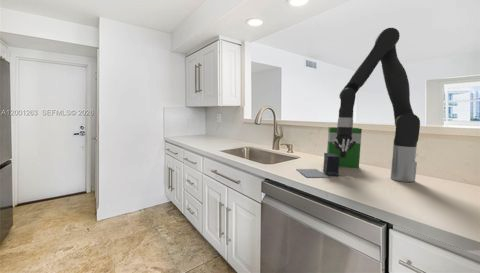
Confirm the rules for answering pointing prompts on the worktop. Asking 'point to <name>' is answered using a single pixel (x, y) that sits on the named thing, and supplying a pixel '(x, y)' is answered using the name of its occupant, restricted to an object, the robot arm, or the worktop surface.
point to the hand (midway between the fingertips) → (342, 157)
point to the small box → (331, 164)
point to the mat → (312, 173)
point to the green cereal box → (352, 154)
